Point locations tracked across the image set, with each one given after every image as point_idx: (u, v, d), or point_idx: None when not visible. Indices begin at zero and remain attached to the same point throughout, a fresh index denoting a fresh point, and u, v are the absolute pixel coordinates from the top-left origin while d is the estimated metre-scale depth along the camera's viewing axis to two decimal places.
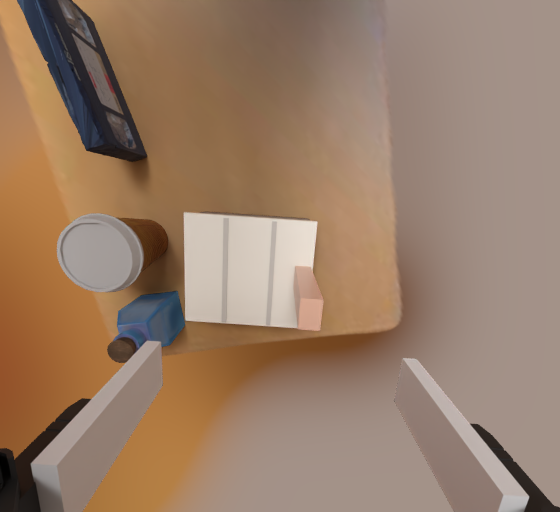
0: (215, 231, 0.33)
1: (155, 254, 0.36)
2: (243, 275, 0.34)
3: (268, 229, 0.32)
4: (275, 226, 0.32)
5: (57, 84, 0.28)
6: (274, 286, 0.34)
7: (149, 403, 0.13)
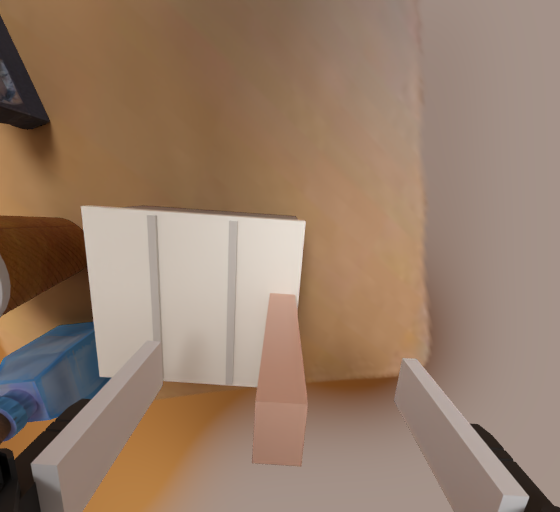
0: (136, 237, 0.20)
1: (55, 272, 0.23)
2: (186, 308, 0.21)
3: (224, 234, 0.19)
4: (235, 229, 0.19)
5: None
6: (237, 325, 0.21)
7: (149, 403, 0.13)
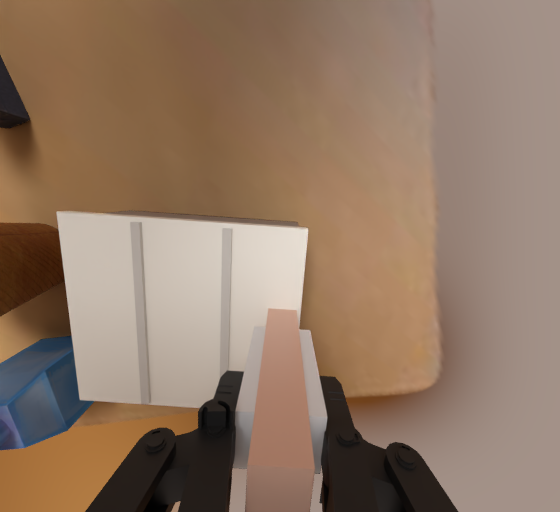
0: (118, 246, 0.18)
1: (33, 283, 0.21)
2: (175, 325, 0.19)
3: (217, 242, 0.17)
4: (229, 237, 0.17)
5: None
6: (232, 344, 0.19)
7: None
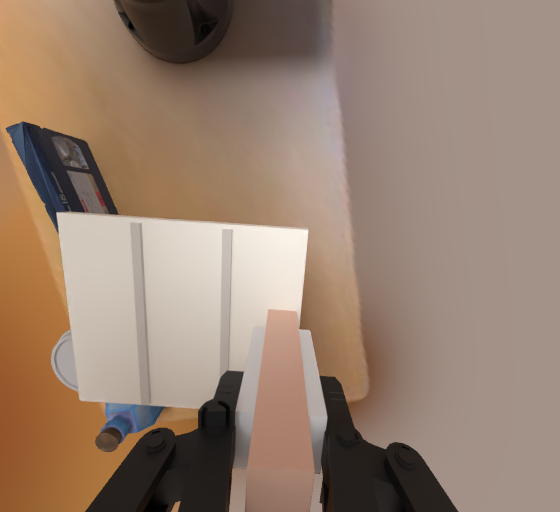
0: (118, 247, 0.18)
1: None
2: (175, 326, 0.19)
3: (217, 243, 0.17)
4: (229, 238, 0.17)
5: (53, 221, 0.32)
6: (232, 344, 0.19)
7: None
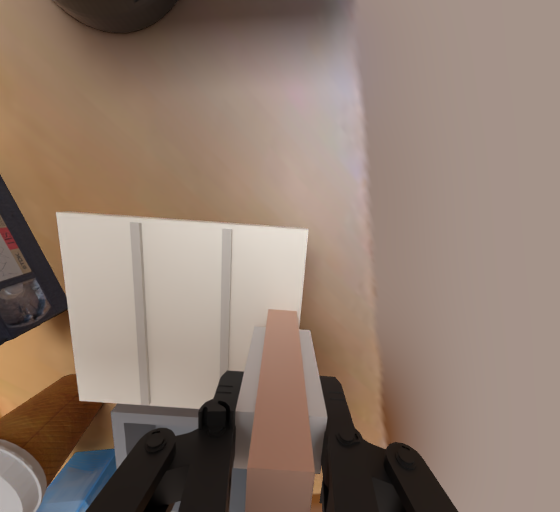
0: (118, 247, 0.17)
1: (77, 439, 0.29)
2: (175, 326, 0.19)
3: (217, 243, 0.17)
4: (229, 238, 0.17)
5: None
6: (232, 345, 0.19)
7: None
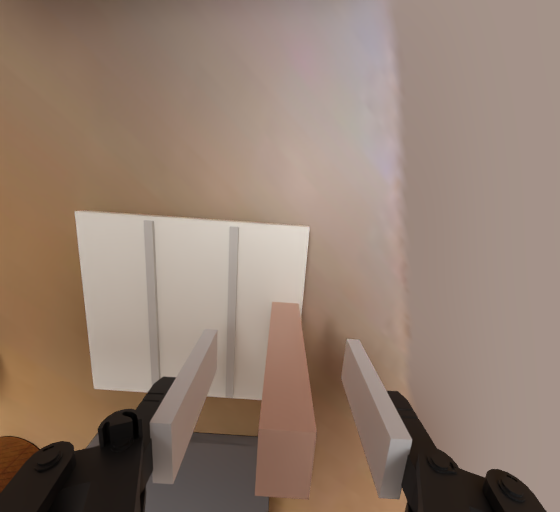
0: (132, 244, 0.19)
1: None
2: (185, 317, 0.20)
3: (224, 240, 0.19)
4: (235, 235, 0.18)
5: None
6: (238, 335, 0.20)
7: (210, 384, 0.14)
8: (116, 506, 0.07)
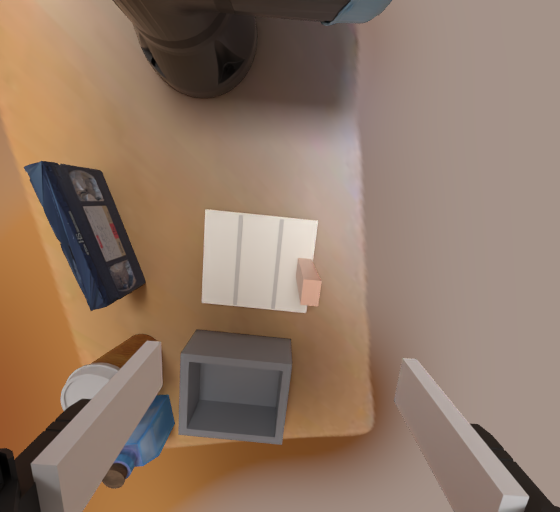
0: (231, 226, 0.38)
1: None
2: (253, 264, 0.40)
3: (276, 225, 0.38)
4: (282, 223, 0.38)
5: (68, 260, 0.31)
6: (279, 275, 0.40)
7: (149, 403, 0.13)
8: None
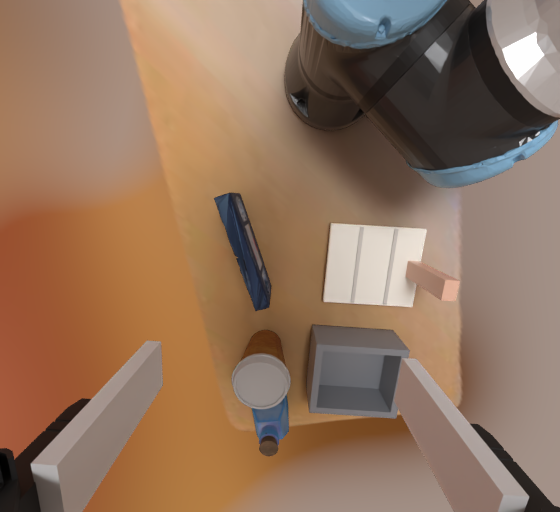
0: (352, 236, 0.46)
1: None
2: (369, 268, 0.47)
3: (391, 234, 0.45)
4: (396, 232, 0.45)
5: (242, 271, 0.39)
6: (391, 275, 0.47)
7: (149, 403, 0.13)
8: None
